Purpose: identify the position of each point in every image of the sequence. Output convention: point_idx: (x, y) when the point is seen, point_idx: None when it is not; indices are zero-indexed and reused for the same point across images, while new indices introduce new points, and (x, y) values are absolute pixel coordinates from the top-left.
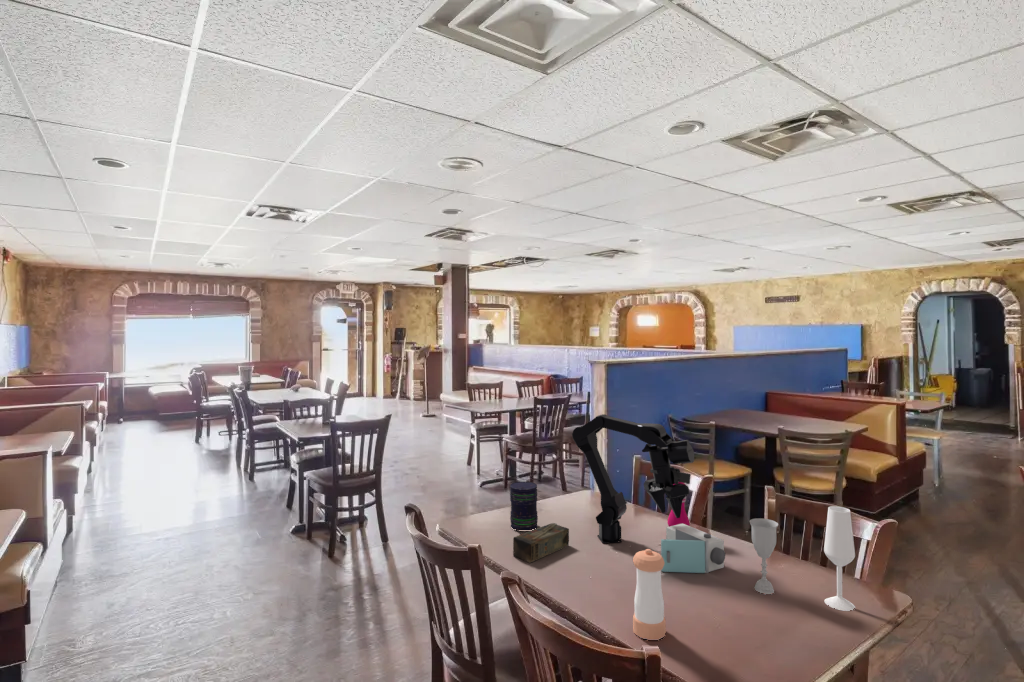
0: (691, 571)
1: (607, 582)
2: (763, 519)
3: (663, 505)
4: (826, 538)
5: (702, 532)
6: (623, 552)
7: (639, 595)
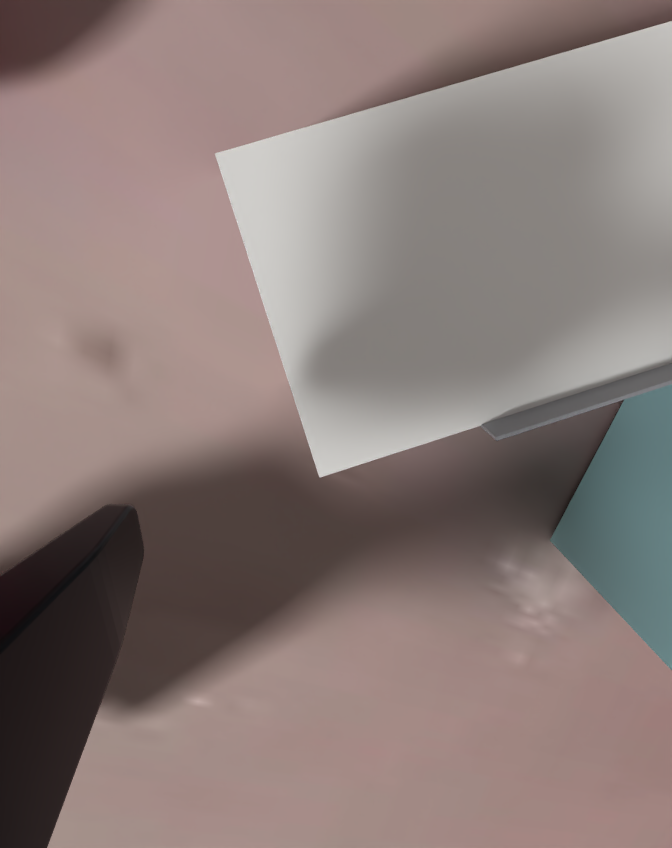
0: None
1: (548, 802)
2: None
3: (73, 620)
4: None
5: (656, 67)
6: (212, 663)
7: None
